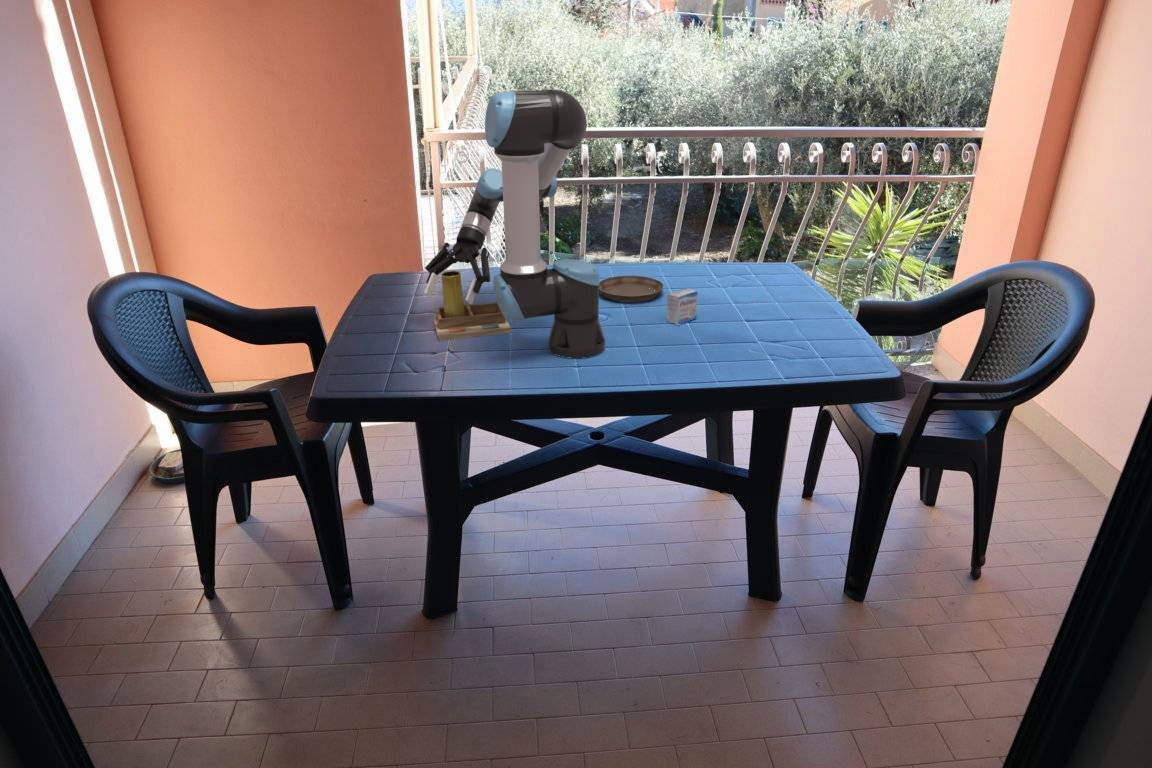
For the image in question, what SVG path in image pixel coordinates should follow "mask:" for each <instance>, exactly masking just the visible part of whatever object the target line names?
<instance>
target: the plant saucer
mask: <svg viewBox="0 0 1152 768" xmlns="http://www.w3.org/2000/svg"><path fill="white" fill-rule="evenodd" d="M599 283H600V285H599V293H601V294H602V295H603V296H604V297H605V298H607V299H609V300H611V301H615V302H619V301H620V303H630V302H632V303H642V301H643V302H646V300H647V301H650V300H652V299H654V298H655V297H657V296H658V295H659V294H660V293H661V292H662V290H663V289H664V287H665V286H664V283H663V282H661V281H660V280H658V279H655V278H652V277H648V276H639V275H620V276H619V275H617V276H612V277H608V278H605V279H602V280H601V281H600V280H599ZM649 288H650V289H649ZM654 290H655V291H654Z"/></svg>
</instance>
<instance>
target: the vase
mask: <svg viewBox="0 0 1152 768" xmlns="http://www.w3.org/2000/svg"><path fill="white" fill-rule="evenodd" d="M440 275H441V287H442V288H441V289H442V299H443V307H444V316H445V318H450V317H461V316H465V314H464V305H465V304H464V297H463V287H462V277H461V276H462V275H461V272H460V271H458V270H447V271H442V272H441V273H440Z"/></svg>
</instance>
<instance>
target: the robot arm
mask: <svg viewBox="0 0 1152 768" xmlns="http://www.w3.org/2000/svg"><path fill="white" fill-rule="evenodd" d="M587 127H588V123H587V116H586V112H585V109H584V107H583V106H582V105H581V103H580V101H578V100H577V98H575V96H573V95H572V94H570V93H568V92H566V91H563V90H560V89H547V90H546V89H543V90H539V89H538V90H537V89H536V90H508V91H502V92H501V91H500V92H496V93H494V94H493V95H492V96H491V97H490V98H489V100H488V103H487V106H486V109H485V119H484V133H485V140H486V143H487V145H488V146H489V147H491V148H493V150H494V155H495V156H496V157H497V158H498V159H499V160H500V162H501V170H500V169H497V168H494V167H493V168H492V167H491V168H488V169H486V170H485V171H483V172H482V173H481V175H480V177H479V179H477V184H476V187H475V189H474V191H473V195H472V197H471V200H470V203H469V206H468V208H467V212H466V214H465V215H464V218H463V221H462V223H461V227H460V229H459V231H458V234H457V235H456V241H455V242H456V243H455V244H454V245H452V244H450V243H449V242H445V243H444V244H443V247H442V248H441V250H440V251H439V252H438V253H437V254H436V255H435V256H434V257H433V258H432V259H431V261H429V263H428V264H427V265H425V267H424V269H425V270H426V271H427V272H428V273H429V274H428V276H427V279H426V287H425V288H424V292H423V294H424V295H425V296H426V297H427V298H432V295H433V293H434V292H435V288H436V285H437V283H438V281H439V275H441V274H442V273H443V272H445V270H447V269H448V268H450V267H451V266H452V265H453V264H457V263H466V264H470V265H471V268H472V271H473V273H474V276H475V278H472V281H471V284H470V286H469V289H468V292H467V294H466V298H465V302H467V303H468V305H472V304H473V303H474V300H475V297H476V295H477V294H479V293H480V291H481V287H482V285H483V284H484V283H489V282H491V274H490V263H489V262H490V261H489V258H490V254H491V253H490V251H489V250H488V249H487V248H486V247H483V245H484V243H485V241H486V237H487V236H488V233H489V230H490V227H491V224H492V221H493V219H494V216H495V215H496V212H497V209H498V207H499V204H500V202H501V203H502V202H503V225H504V241H505V242H504V243H505V244H504V245H505V260H504V261H503V262H502V263H501V264H500V267H499V268H500V273H497V274H496V275H494V277H493V288H494V289H493V290H494V294H495V298H496V302H498V305H499V308H500V310H501V312H502V314H503V316H504V317H505V318H506V319H507V321H509V320H510V321H515V320H523V321H524V320H526V319H533V318H541V317H547V316H548V317H549V316H553V315H554V317H553V322H552V327H551V328H550V329H551V330H550V333H549V336H548V339H547V342H548V343H547V344H548V345H547V348H549V349H548V351H549V350H550V351H551V352H552V353H551V352H550V351H549V352H550V353H551V354H553V353H554V354H553V355H555V354H557V355H560V356H559V357H561V356H564V357H563V358H565V357H571V358H570V359H584V358H583V357H587V358H591V357H590V356H592V357H595V356H598V355H600V354H601V353H603V352H604V351H605V349H606V338H605V334H604V331H603V329H602V326H601V323H600V320H599V319H600V314H599V313H600V308H599V306H600V301H599V300H600V290H599V285H600V283H599V282H600V279H599V278H600V277H599V276H600V275H599V270H598V268H597V266H595V265H594V264H592V263H589V262H587V261H584V260H580V259H573V258H572V259H569V258H565V259H558V260H554V262H553V263H552V265H551V266H552V267H551V268H548V264H547V263H546V262H545V261H544V260H543V259H542V256H541V255H542V254H541V251H542V250H541V225H540V224H541V223H540V220H541V219H540V217H541V216H540V214H541V213H540V199H541V200H543V199H546V198H552V197H554V196H555V195H556V193H557V187H558V180H557V174H558V172H559V171H560V170H561V167H562V166H563V164H564V163H565V160H566V159H567V157H568V156H569V154H570V152H572V150H573V149H576V148H577V147H578V146H579V145H580V144H581V143H582V141H583V139H584V137H585V135H586V132H587ZM479 256H480V264H481V270H480V267H479V265H478V262H477V258H478V257H479ZM481 271H482V272H481ZM603 350H604V351H603ZM602 351H603V352H602ZM599 353H600V354H599ZM597 354H598V355H597ZM557 355H556V356H557ZM594 355H595V356H594Z"/></svg>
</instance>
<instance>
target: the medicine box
mask: <svg viewBox="0 0 1152 768" xmlns="http://www.w3.org/2000/svg"><path fill="white" fill-rule="evenodd" d="M698 292H699V291H697V290H695V289H692V288H690V287H689V288H688V287H686V288H684V289H680V290H675V291H673V292H669V293H667V308H666V311H667V312H666V322H667V321H670V322H672V323H675V324H681V323H683V322H687V321H689V322H691V321H690V320H692V319H695V320H697V313H698V311H697V310H698V309H697V308H698ZM692 321H693V320H692ZM670 322H669V323H670ZM672 323H671V324H672ZM687 323H688V322H687ZM675 324H674V325H675ZM681 325H682V324H681Z"/></svg>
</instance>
